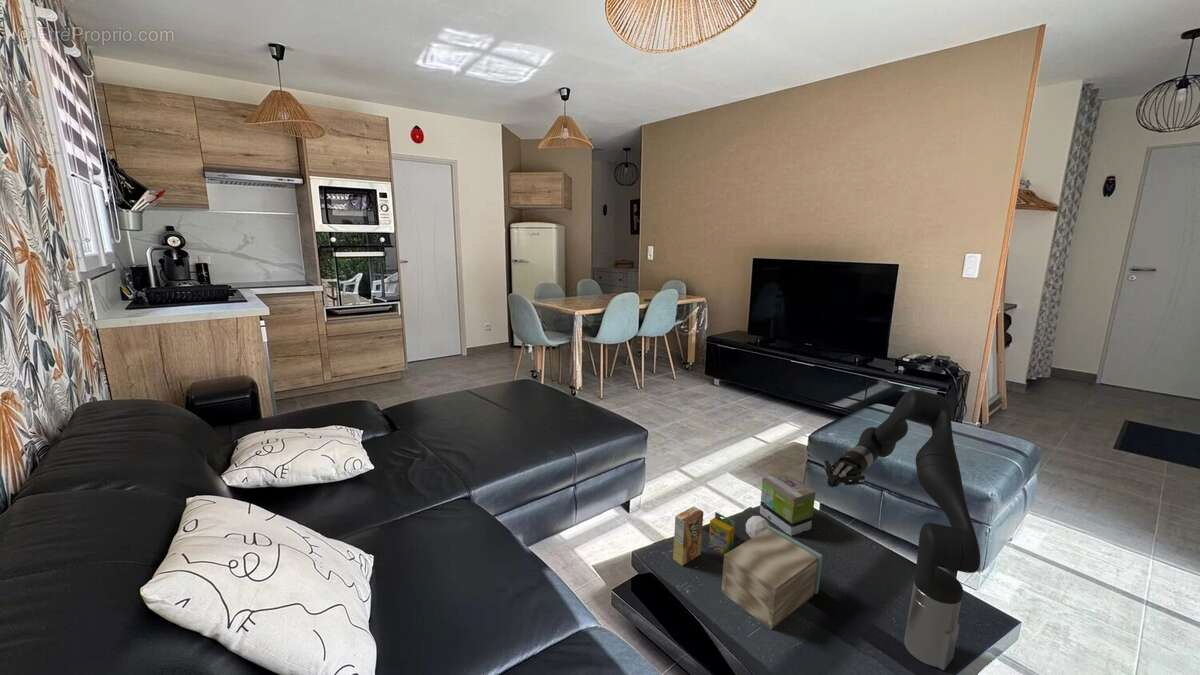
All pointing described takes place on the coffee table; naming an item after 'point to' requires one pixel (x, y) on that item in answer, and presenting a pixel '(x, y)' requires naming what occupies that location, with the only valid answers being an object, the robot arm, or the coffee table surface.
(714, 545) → the crayon box
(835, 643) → the coffee table surface
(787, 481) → the tea box
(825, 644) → the coffee table surface
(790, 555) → the birch box
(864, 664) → the coffee table surface
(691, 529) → the candy box
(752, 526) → the ball
